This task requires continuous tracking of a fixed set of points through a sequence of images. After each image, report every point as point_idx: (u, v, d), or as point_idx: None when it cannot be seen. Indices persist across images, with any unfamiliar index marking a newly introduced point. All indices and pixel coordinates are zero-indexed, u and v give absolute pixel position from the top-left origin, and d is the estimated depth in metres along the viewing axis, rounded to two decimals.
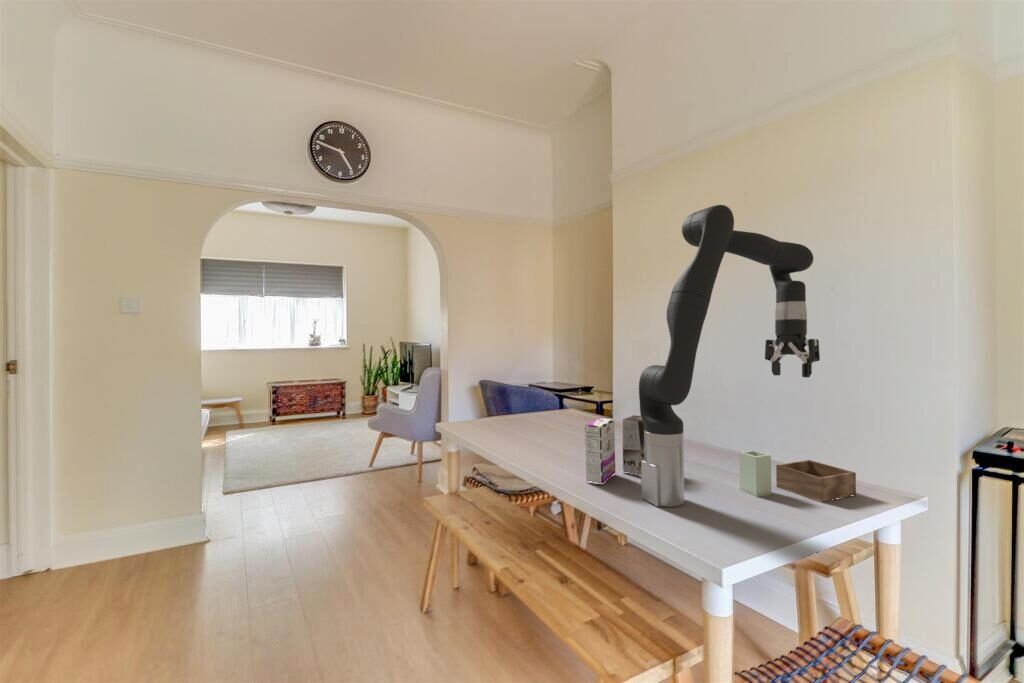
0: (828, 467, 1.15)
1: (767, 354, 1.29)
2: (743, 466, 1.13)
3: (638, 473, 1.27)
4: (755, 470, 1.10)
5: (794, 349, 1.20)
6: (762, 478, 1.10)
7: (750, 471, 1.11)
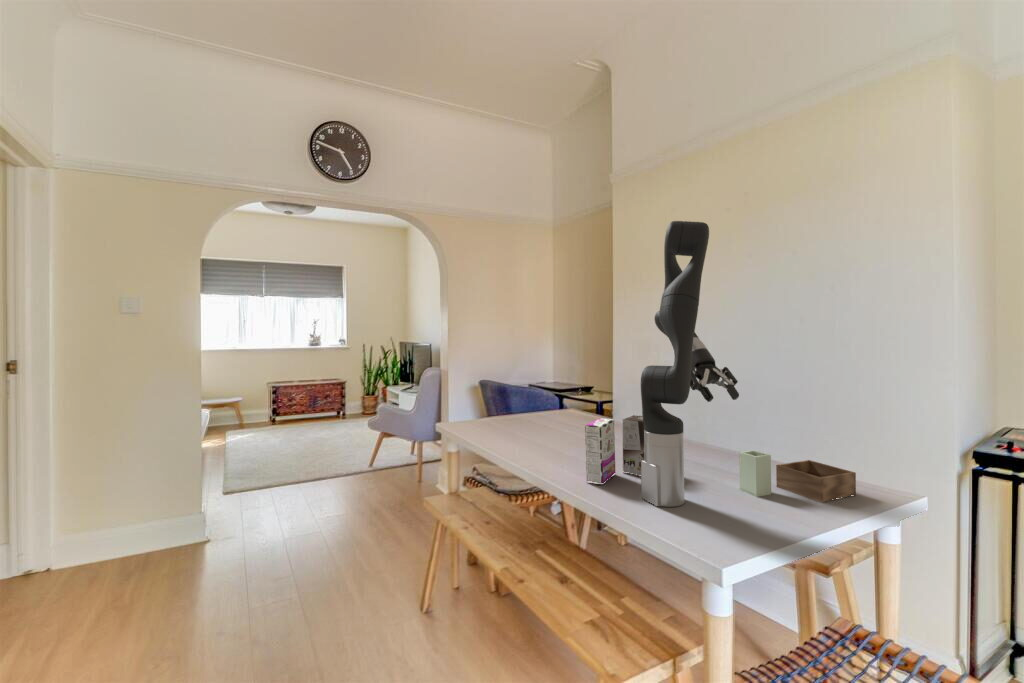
0: (828, 467, 1.15)
1: (696, 380, 1.24)
2: (743, 466, 1.13)
3: (638, 473, 1.27)
4: (755, 470, 1.10)
5: (719, 373, 1.26)
6: (762, 478, 1.10)
7: (750, 471, 1.11)
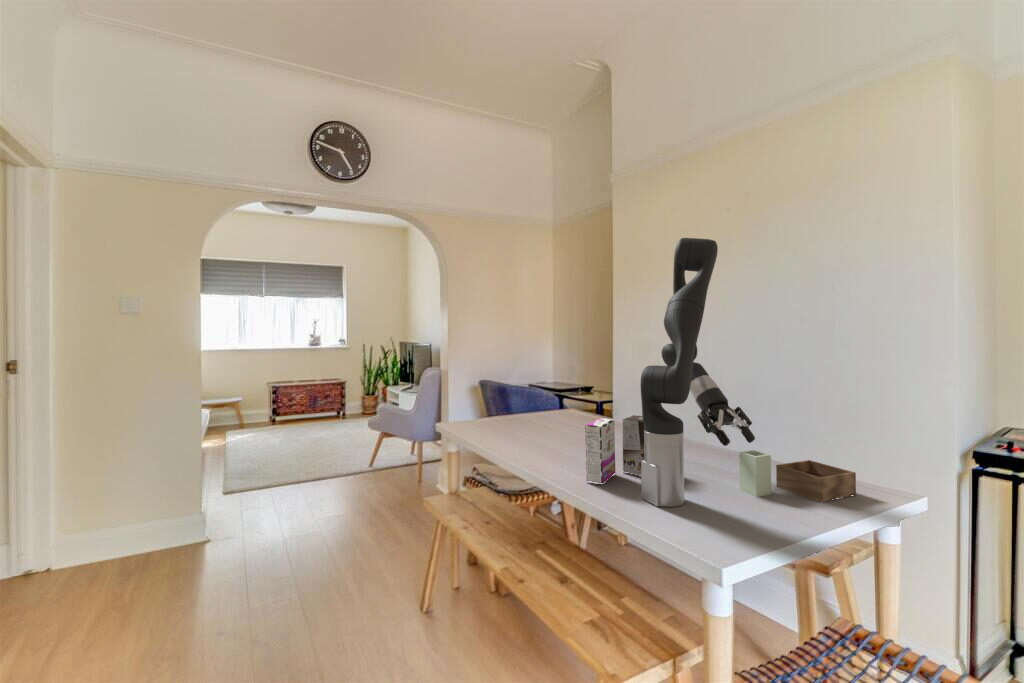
0: (828, 467, 1.15)
1: (711, 423, 1.18)
2: (743, 466, 1.13)
3: (638, 473, 1.27)
4: (755, 470, 1.10)
5: (733, 414, 1.21)
6: (762, 478, 1.10)
7: (750, 471, 1.11)
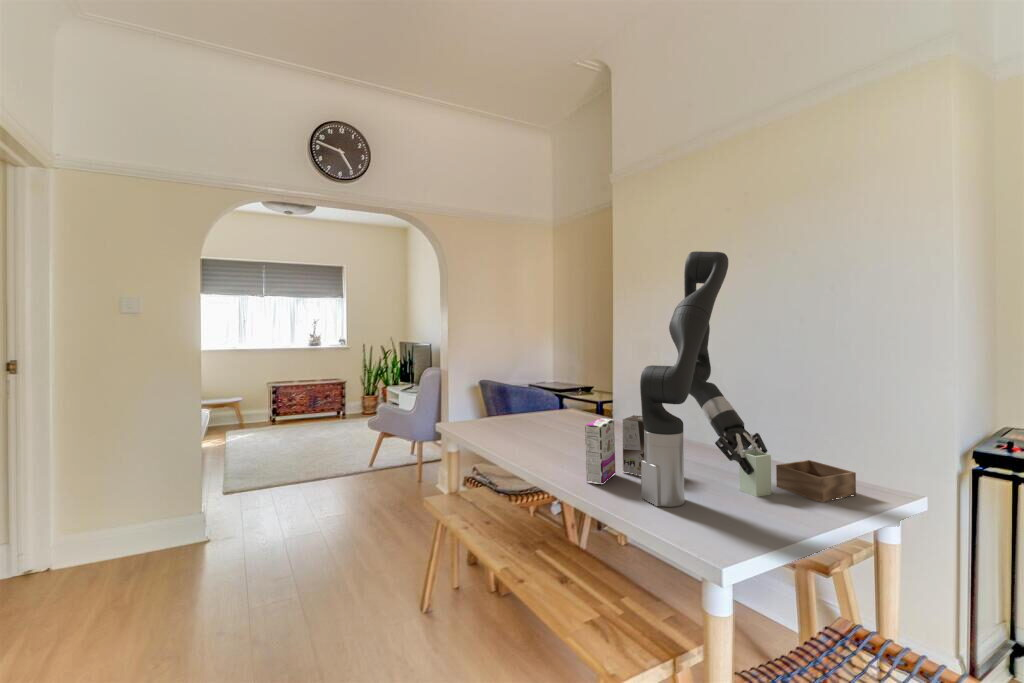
0: (828, 467, 1.15)
1: (732, 450, 1.13)
2: None
3: (638, 473, 1.27)
4: (755, 470, 1.10)
5: (749, 440, 1.16)
6: (762, 478, 1.10)
7: None
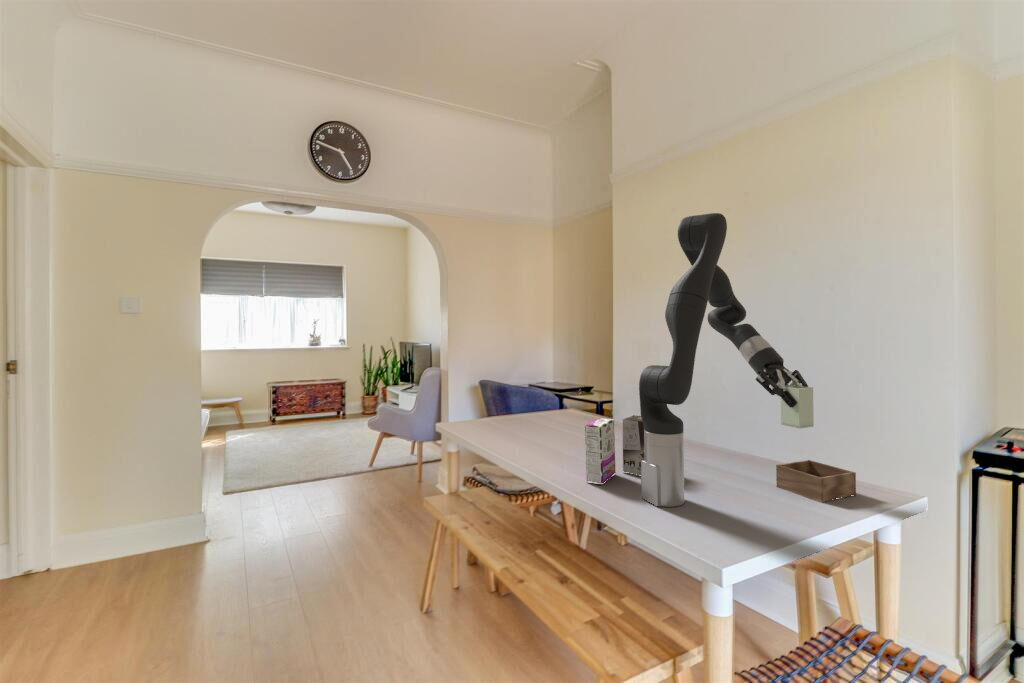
0: (828, 467, 1.15)
1: (774, 384, 1.13)
2: None
3: (638, 473, 1.27)
4: (798, 402, 1.10)
5: (790, 375, 1.16)
6: (805, 410, 1.11)
7: None
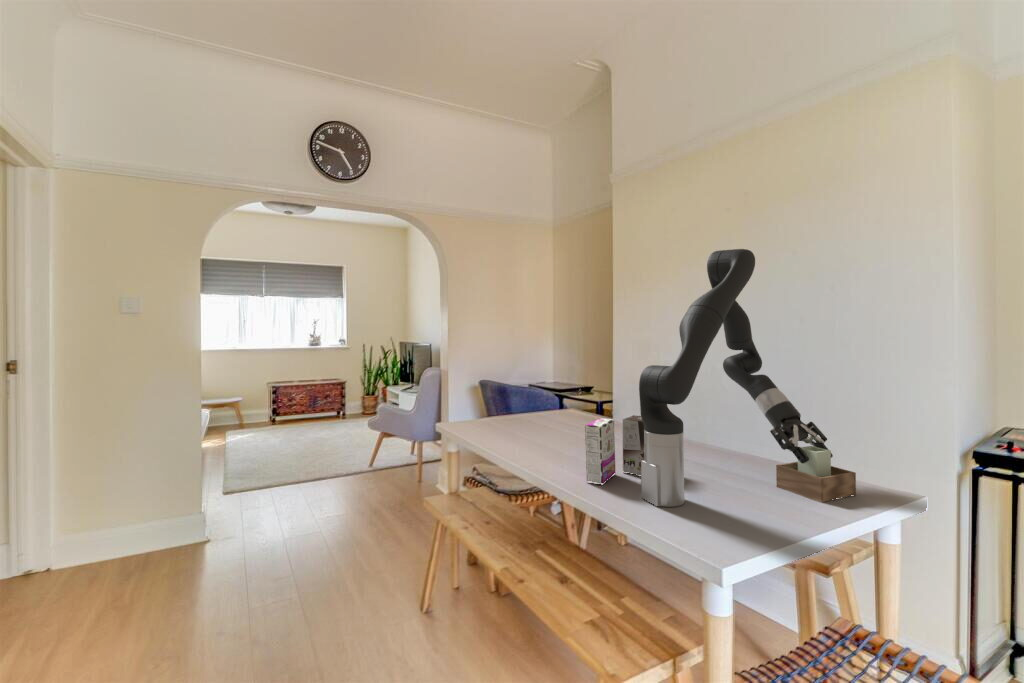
0: None
1: (787, 439, 1.13)
2: None
3: (638, 473, 1.27)
4: (816, 465, 1.10)
5: (808, 430, 1.16)
6: (823, 474, 1.10)
7: (810, 466, 1.11)
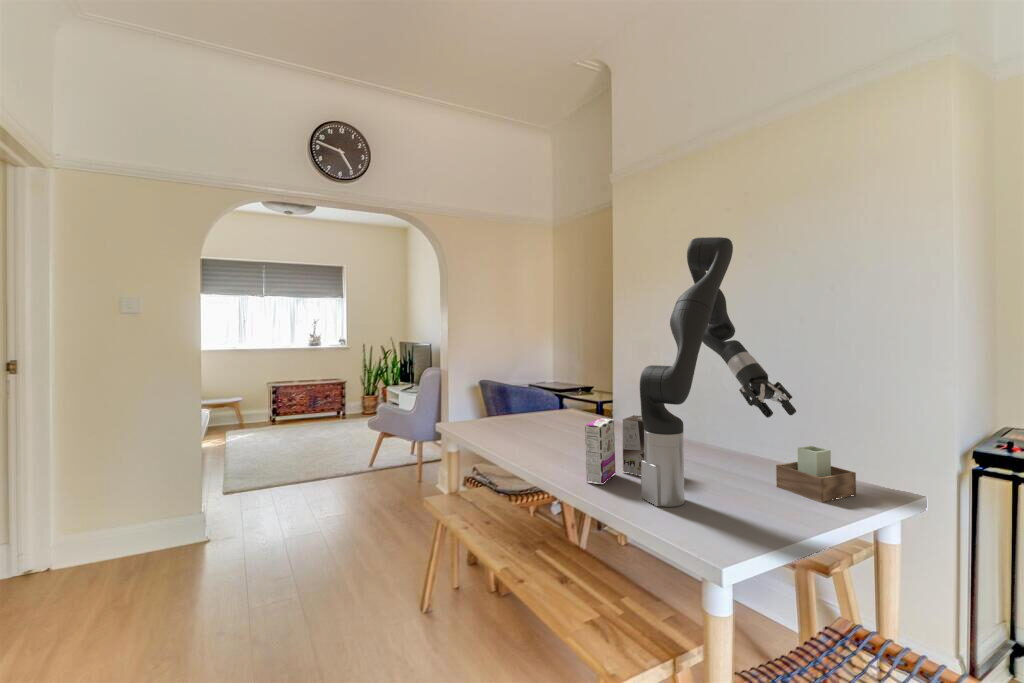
0: None
1: (753, 396, 1.22)
2: (802, 462, 1.13)
3: (638, 473, 1.27)
4: (816, 465, 1.10)
5: (774, 389, 1.26)
6: (823, 474, 1.10)
7: (810, 466, 1.11)
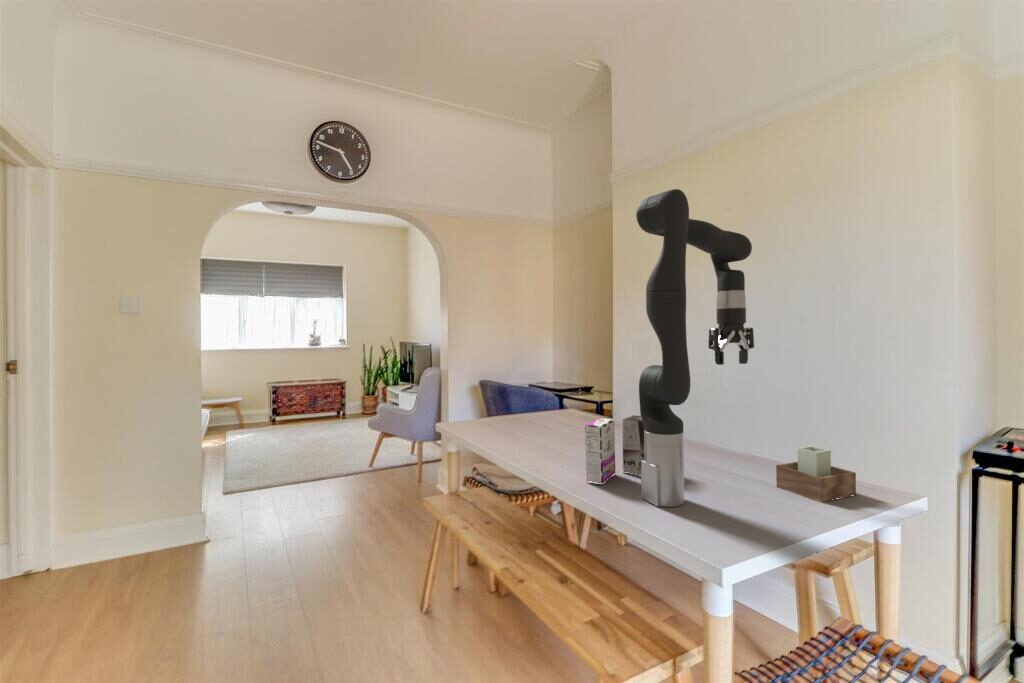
0: None
1: (716, 343, 1.22)
2: (802, 462, 1.13)
3: (638, 473, 1.27)
4: (816, 465, 1.10)
5: (742, 337, 1.24)
6: (823, 474, 1.10)
7: (810, 466, 1.11)
